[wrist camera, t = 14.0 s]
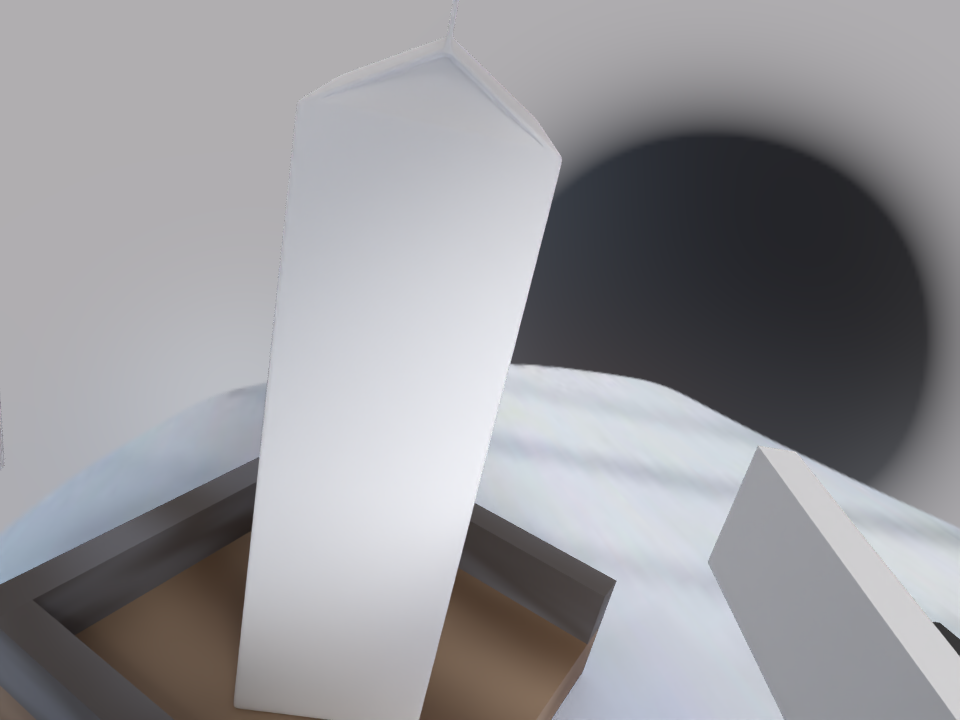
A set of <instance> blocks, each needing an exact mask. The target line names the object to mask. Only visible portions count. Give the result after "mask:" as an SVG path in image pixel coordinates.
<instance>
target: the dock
mask: <svg viewBox="0 0 960 720" xmlns="http://www.w3.org/2000/svg"><path fill="white" fill-rule="evenodd" d="M258 466H259V457H258V458H256V459H254V460H252V461H250V462H248V463H246V464H244V465H242V466H240V467H238V468H236V469H234V470H232V471H230V472H228V473H226V474H224V475H222V476H220V477H218V478H216V479H214V480H212V481H210V482H208V483H206V484H204V485H202V486H200V487H198V488H195V489H193V490H191V491H189V492H187V493H185V494H183V495H181V496H179V497H177V498H175V499H173V500H171V501H169V502H167V503H165V504H163V505H161V506H159V507H157V508H155V509H153V510H151V511H149V512H147V513H145V514H143V515H141V516H139V517H137V518H135V519H133V520H130V521H128V522H126V523H124V524H122V525H120V526H118V527H116V528H114V529H112V530H110V531H108V532H106V533H104V534H102V535H100V536H98V537H96V538H94V539H92V540H90V541H88V542H86V543H84V544H82V545H80V546H78V547H76V548H74V549H72V550H70V551H68V552H65V553H63V554H61V555H59V556H57V557H55V558H53V559H51V560H49V561H47V562H45V563H43V564H41V565H39V566H37V567H35V568H33V569H31V570H29V571H27V572H25V573H23V574H21V575H19V576H17V577H15V578H13V579H11V580H9V581H7V582H5V583H3V584H0V720H327V719H319V718H311V717H303V716H295V715H287V714H279V713H271V712H263V711H255V710H247V709H239V708H235V707H234V693H235V683H236V674H237V664H238V655H239V645H240V636H241V627H242V617H243V608H244V598H245V589H246V579H247V570H248V560H249V551H250V542H251V532H252V523H253V513H254V504H255V494H256V485H257V475H258ZM615 583H616V580H614V579H612V578H610V577H608V576H607V575H605V574H603V573H601V572H599V571H598V570H596V569H594V568H592V567H590V566H588V565H587V564H585V563H583V562H581V561H579V560H577V559H576V558H574V557H572V556H570V555H568V554H567V553H565V552H563V551H561V550H559V549H557V548H556V547H554V546H552V545H550V544H548V543H547V542H545V541H543V540H541V539H539V538H537V537H536V536H534V535H532V534H530V533H528V532H526V531H525V530H523V529H521V528H519V527H517V526H516V525H514V524H512V523H510V522H508V521H506V520H505V519H503V518H501V517H499V516H497V515H496V514H494V513H492V512H490V511H488V510H486V509H485V508H483V507H481V506H479V505H477V504H476V503H474V507H473V511H472V515H471V519H470V523H469V527H468V531H467V535H466V539H465V542H464V546H463V550H462V554H461V558H460V562H459V566H458V570H457V574H456V578H455V582H454V585H453V589H452V593H451V597H450V601H449V605H448V609H447V613H446V617H445V621H444V625H443V628H442V632H441V636H440V640H439V644H438V648H437V652H436V656H435V660H434V664H433V668H432V672H431V675H430V679H429V683H428V687H427V691H426V695H425V699H424V703H423V707H422V711H421V715H420V718H419V720H551V719H552V717H553V716H554V714H555V713H556V711H557V710H558V708H559V707H560V705H561V704H562V702H563V701H564V699H565V698H566V696H567V695H568V693H569V692H570V690H571V689H572V687H573V685H574V684H575V682H576V681H577V679H578V678H579V676H580V675H581V673H582V672H583V669H584V667H585V664H586V661H587V659H588V656H589V653H590V651H591V648H592V645H593V642H594V640H595V637H596V634H597V632H598V629H599V626H600V624H601V621H602V618H603V616H604V613H605V610H606V607H607V605H608V602H609V599H610V597H611V594H612V591H613V589H614V586H615Z"/></svg>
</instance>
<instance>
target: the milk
mask: <svg viewBox="0 0 960 720" xmlns="http://www.w3.org/2000/svg"><path fill="white" fill-rule="evenodd" d="M458 4H459V0H453V4H452V10H451V15H450V21H449V26H448V32H447V36H446V37H443V38H441V39H438V40H435V41H432V42H430V43H427V44H424V45H421V46H418V47H416V48H413V49H410V50H407V51H405V52H402V53H399V54H396V55H394V56H391V57H388V58H385V59H383V60H380V61H377V62H374V63H372V64H369V65H366V66H363V67H361V68H358V69H355V70H352V71H350V72H347V73H344V74H342V75H339V76H337V77H336V78H334V79H333V80H331V81H329V82H328V83H326V84H324V85H323V86H321V87H319V88H318V89H316V90H315V91H313V92H311V93H310V94H308V95H306V96H305V97H303V98H302V99H300V100H299V101H298V103H297V108H296V116H295V126H294V135H293V136H294V137H293V145H292V154H291V164H290V173H289V182H288V192H287V201H286V212H285V220H284V230H283V239H282V249H281V258H280V269H279V277H278V286H277V296H276V305H275V315H274V325H273V334H272V343H271V353H270V362H269V371H268V381H267V390H266V400H265V409H264V419H263V428H262V438H261V447H260V456H259V466H258V475H257V485H256V494H255V504H254V513H253V523H252V532H251V542H250V551H249V560H248V570H247V579H246V589H245V598H244V608H243V617H242V627H241V636H240V645H239V655H238V664H237V674H236V683H235V693H234V707H235V708H239V709H247V710H255V711H263V712H271V713H279V714H287V715H295V716H303V717H311V718H319V719H327V720H419V718H420V715H421V711H422V707H423V703H424V699H425V695H426V691H427V687H428V683H429V679H430V675H431V672H432V668H433V664H434V660H435V656H436V652H437V648H438V644H439V640H440V636H441V632H442V628H443V625H444V621H445V617H446V613H447V609H448V605H449V601H450V597H451V593H452V589H453V585H454V582H455V578H456V574H457V570H458V566H459V562H460V558H461V554H462V550H463V546H464V542H465V539H466V535H467V531H468V527H469V523H470V519H471V515H472V511H473V507H474V503H475V499H476V495H477V492H478V488H479V484H480V480H481V476H482V472H483V468H484V464H485V460H486V456H487V452H488V449H489V445H490V441H491V437H492V433H493V429H494V425H495V421H496V417H497V413H498V409H499V406H500V402H501V398H502V394H503V390H504V386H505V382H506V378H507V374H508V370H509V366H510V362H511V358H512V355H513V351H514V347H515V343H516V339H517V335H518V331H519V327H520V323H521V319H522V316H523V312H524V308H525V304H526V300H527V296H528V292H529V288H530V284H531V280H532V276H533V273H534V269H535V265H536V261H537V256H538V253H539V249H540V245H541V241H542V237H543V233H544V229H545V225H546V222H547V218H548V214H549V210H550V206H551V202H552V198H553V194H554V190H555V186H556V183H557V179H558V175H559V171H560V167H561V161H562V158H561V156H560V154H559V153H558V151H557V149H556V148H555V147H554V145H553V143H552V142H551V140H550V139H549V138H548V136H547V135H546V133H545V132H544V130H543V128H542V127H541V125H540V124H539V122H538V121H537V119H536V118H534V116H533V115H532V114H531V113H530V112H529V111H528V110H527V109H526V108H525V107H524V106H523V105H522V104H521V103H520V102H519V101H517V99H516V98H515V97H514V96H513V95H511V94H510V93H509V92H508V91H507V90H506V89H505V88H504V87H503V86H502V85H501V84H500V83H499V82H498V81H497V80H496V79H495V78H494V77H493V76H492V75H491V74H490V73H489V72H488V71H487V70H486V69H485V68H484V67H483V66H482V65H481V64H480V63H479V62H478V61H477V60H476V59H475V58H474V57H473V56H472V55H471V54H470V53H469V52H468V51H467V50H466V49H465V48H464V47H462V45H461V44H460V43H459V42H458V41H456V39H455V38H454V36H453V32H454V26H455V20H456V14H457V9H458Z"/></svg>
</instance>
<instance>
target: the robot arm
mask: <svg viewBox="0 0 960 720" xmlns="http://www.w3.org/2000/svg"><path fill="white" fill-rule="evenodd" d="M3 467H4V451H3V435H2V418H1V402H0V470H1V469H2V468H3ZM708 564H709V566H710V568H711V570H712V572H713V574H714V576H715V578H716V580H717V582H718V584H719V586H720V588H721V590H722V593H723V595H724V597H725V599H726V601H727V603H728V605H729V607H730V609H731V611H732V613H733V615H734V617H735V619H736V621H737V623H738V625H739V627H740V629H741V632H742V634H743V636H744V638H745V640H746V642H747V644H748V646H749V648H750V650H751V652H752V654H753V656H754V658H755V660H756V662H757V664H758V666H759V669H760V671H761V673H762V675H763V677H764V679H765V681H766V683H767V685H768V687H769V689H770V691H771V693H772V695H773V697H774V699H775V701H776V703H777V706H778V708H779V710H780V712H781V714H782V716H783V718H784V720H960V639H959V638H958V637H956V636H955V635H954V634H953V633H951V632H950V631H949V630H948V629H947V628H945V627H944V626H943V625H942V624H941V623H937V622H932V621H931V620H930V619H929V617H928V616H927V615H926V614H925V612H924V611H923V610H922V609H921V607H920V606H919V605H918V604H917V602H916V601H915V600H914V599H913V597H912V596H911V595H910V594H909V592H908V591H907V590H906V589H905V587H904V586H903V585H902V584H901V582H900V581H899V580H898V579H897V577H896V576H895V575H894V574H893V572H892V571H891V570H890V569H889V567H888V566H887V565H886V564H885V562H884V561H883V560H882V559H881V557H880V556H879V555H878V554H877V552H876V551H875V550H874V549H873V547H872V546H871V545H870V544H869V542H868V541H867V540H866V539H865V537H864V536H863V535H862V534H861V532H860V531H859V530H858V529H857V527H856V526H855V525H854V524H853V522H852V521H851V520H850V519H849V517H848V516H847V515H846V514H845V512H844V511H843V510H842V509H841V507H840V506H839V505H838V504H837V502H836V501H835V500H834V499H833V497H832V496H831V495H830V494H829V492H828V491H827V490H826V489H825V487H824V486H823V485H822V484H821V482H820V481H819V480H818V479H817V477H816V476H815V475H814V474H813V472H812V471H811V470H810V469H809V467H808V466H807V465H806V464H805V462H804V461H803V460H802V459H801V457H800V456H799V455H798V453H797V452H794V451H788V450H781V449H775V448H769V447H763V446H758V447H757V449H756V451H755V454H754V456H753V458H752V461H751V463H750V465H749V468H748V470H747V472H746V475H745V477H744V479H743V482H742V484H741V486H740V488H739V491H738V493H737V495H736V498H735V500H734V502H733V505H732V507H731V509H730V512H729V514H728V516H727V519H726V521H725V523H724V526H723V528H722V530H721V532H720V535H719V537H718V539H717V542H716V544H715V546H714V549H713V551H712V553H711V556H710V558H709V560H708Z"/></svg>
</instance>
